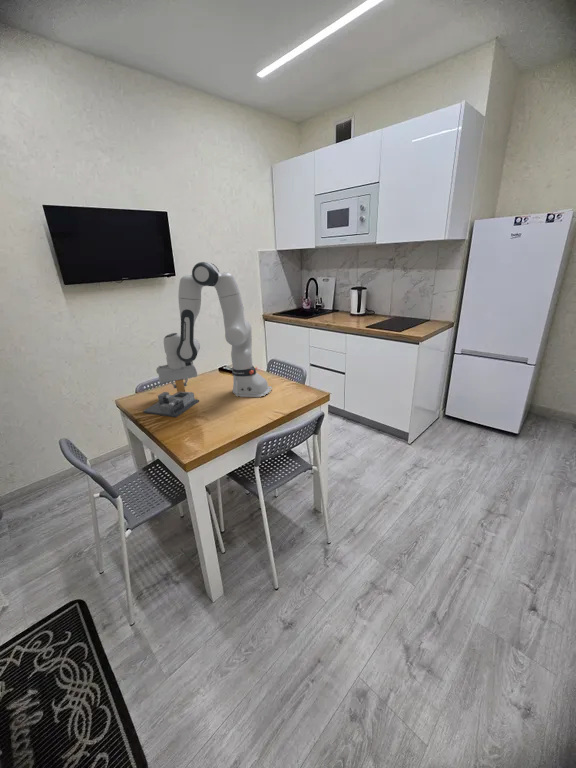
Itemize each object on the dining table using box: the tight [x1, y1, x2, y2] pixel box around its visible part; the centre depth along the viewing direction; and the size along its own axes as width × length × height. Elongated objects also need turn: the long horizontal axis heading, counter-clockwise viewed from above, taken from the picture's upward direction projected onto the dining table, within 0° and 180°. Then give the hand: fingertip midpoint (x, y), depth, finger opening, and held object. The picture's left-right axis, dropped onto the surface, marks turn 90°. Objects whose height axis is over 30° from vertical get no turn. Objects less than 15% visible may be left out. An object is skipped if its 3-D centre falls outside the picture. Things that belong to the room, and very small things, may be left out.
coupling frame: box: [142, 391, 200, 418], centre depth 162 cm, size 20×19×6 cm
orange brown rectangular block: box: [174, 379, 186, 393], centre depth 177 cm, size 4×4×9 cm
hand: (180, 386), depth 177 cm, fingers closed on orange brown rectangular block, 4 cm apart
